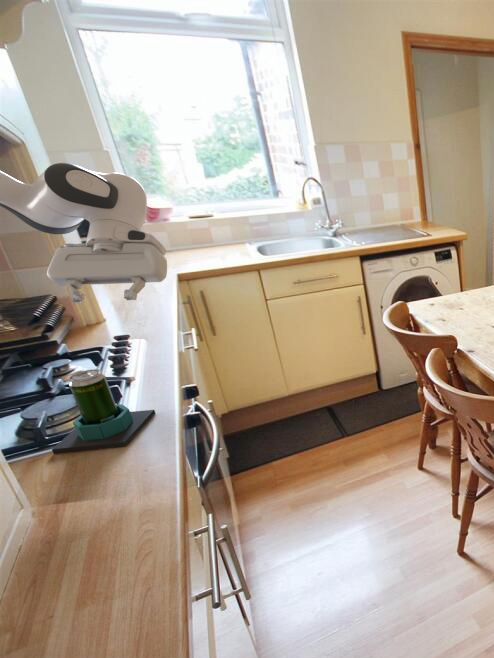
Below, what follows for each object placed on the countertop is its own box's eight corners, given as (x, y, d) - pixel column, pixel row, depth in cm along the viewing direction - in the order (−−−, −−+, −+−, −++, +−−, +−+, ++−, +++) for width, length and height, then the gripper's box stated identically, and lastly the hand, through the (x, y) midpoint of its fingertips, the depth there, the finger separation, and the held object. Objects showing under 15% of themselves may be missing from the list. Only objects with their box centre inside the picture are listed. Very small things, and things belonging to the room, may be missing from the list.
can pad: (53, 453, 87) (45, 436, 86) (91, 419, 98) (84, 402, 96) (126, 446, 90) (119, 429, 88) (155, 413, 100) (150, 397, 99)
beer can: (129, 423, 95) (110, 371, 90) (100, 438, 90) (78, 383, 86) (111, 418, 97) (91, 366, 92) (82, 432, 92) (59, 379, 87)
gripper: (46, 235, 95) (31, 295, 90) (159, 233, 99) (150, 290, 94) (68, 252, 101) (55, 309, 96) (174, 249, 105) (166, 304, 100)
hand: (103, 300), depth 95 cm, fingers open, 8 cm apart
